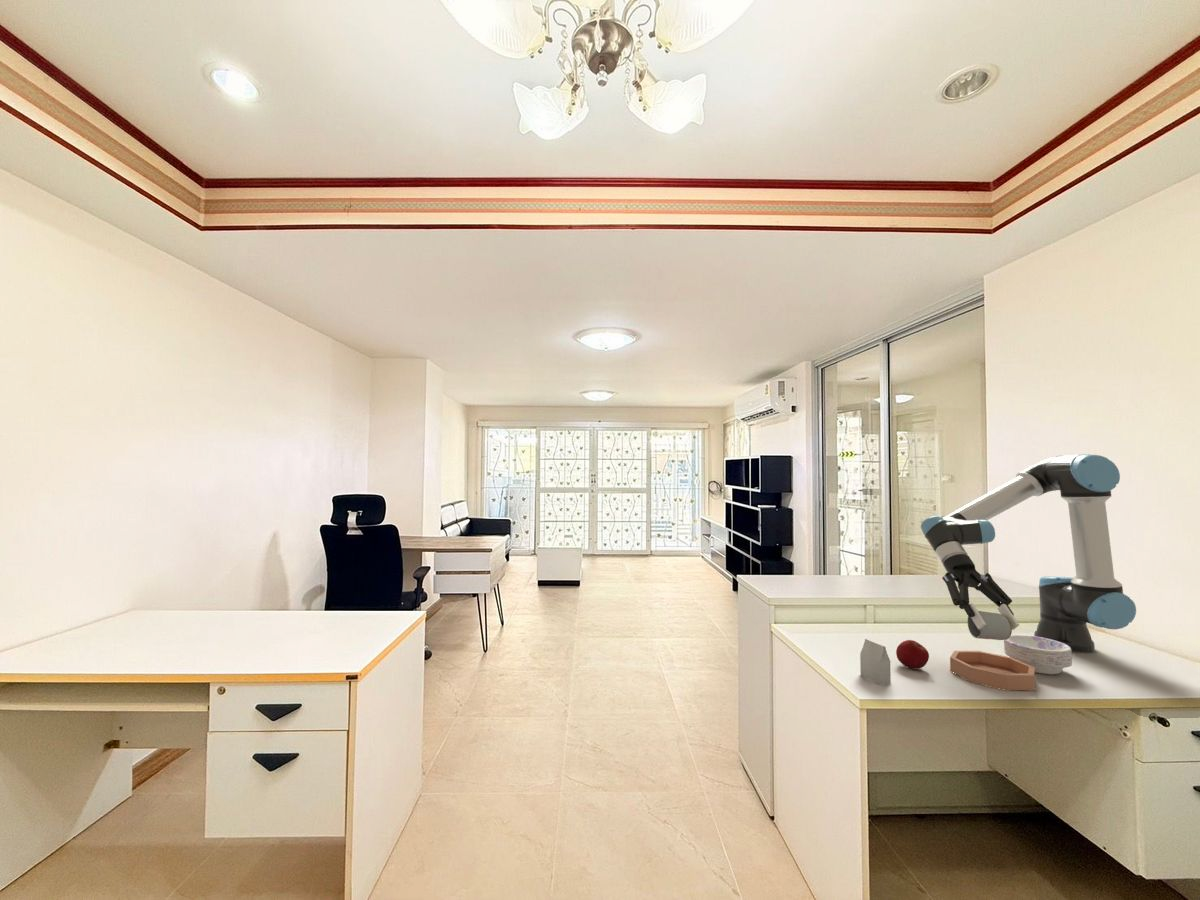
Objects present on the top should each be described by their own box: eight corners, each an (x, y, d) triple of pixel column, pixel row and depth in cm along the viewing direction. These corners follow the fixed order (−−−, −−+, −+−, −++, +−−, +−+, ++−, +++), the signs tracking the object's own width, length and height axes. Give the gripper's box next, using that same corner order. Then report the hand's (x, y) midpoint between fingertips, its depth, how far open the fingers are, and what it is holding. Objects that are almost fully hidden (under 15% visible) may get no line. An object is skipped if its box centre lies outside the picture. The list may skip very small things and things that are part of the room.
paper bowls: (993, 663, 151) (992, 636, 152) (1022, 656, 157) (1021, 631, 158) (1054, 682, 137) (1054, 653, 138) (1083, 674, 143) (1082, 646, 144)
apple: (912, 674, 142) (912, 645, 142) (890, 663, 149) (890, 636, 150) (935, 672, 143) (934, 644, 143) (912, 662, 151) (911, 635, 151)
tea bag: (879, 684, 134) (879, 647, 135) (860, 675, 141) (860, 639, 141) (890, 683, 135) (890, 646, 136) (871, 673, 142) (870, 638, 142)
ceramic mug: (1014, 644, 137) (1013, 615, 138) (981, 641, 138) (981, 613, 139) (991, 632, 148) (990, 606, 148) (960, 630, 149) (960, 604, 149)
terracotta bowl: (996, 664, 150) (996, 650, 150) (1053, 690, 132) (1053, 675, 132) (937, 664, 150) (936, 650, 150) (986, 690, 131) (986, 675, 132)
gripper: (982, 567, 158) (1028, 634, 141) (916, 566, 157) (954, 633, 141) (995, 553, 153) (1044, 620, 136) (927, 552, 152) (968, 619, 136)
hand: (998, 627), depth 138 cm, fingers closed on ceramic mug, 9 cm apart
